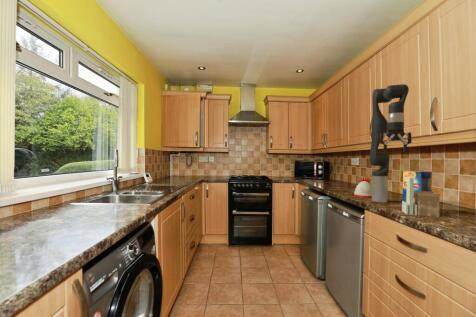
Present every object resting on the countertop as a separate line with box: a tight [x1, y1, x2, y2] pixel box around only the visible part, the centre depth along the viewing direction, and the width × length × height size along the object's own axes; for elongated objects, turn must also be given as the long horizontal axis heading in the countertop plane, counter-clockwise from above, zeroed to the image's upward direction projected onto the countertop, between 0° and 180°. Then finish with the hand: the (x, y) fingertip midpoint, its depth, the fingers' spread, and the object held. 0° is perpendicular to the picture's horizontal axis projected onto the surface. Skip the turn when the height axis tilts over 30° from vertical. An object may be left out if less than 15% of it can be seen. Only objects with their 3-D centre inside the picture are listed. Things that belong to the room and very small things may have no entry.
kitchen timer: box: [353, 176, 372, 199], centre depth 181 cm, size 14×14×15 cm
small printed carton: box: [401, 200, 418, 216], centre depth 122 cm, size 10×4×6 cm, turn 155°
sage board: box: [406, 177, 414, 216], centre depth 120 cm, size 6×2×18 cm, turn 156°
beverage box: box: [402, 170, 433, 202], centre depth 130 cm, size 7×11×22 cm, turn 11°
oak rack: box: [413, 191, 440, 218], centre depth 119 cm, size 9×8×12 cm
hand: (394, 151), depth 129 cm, fingers open, 8 cm apart
